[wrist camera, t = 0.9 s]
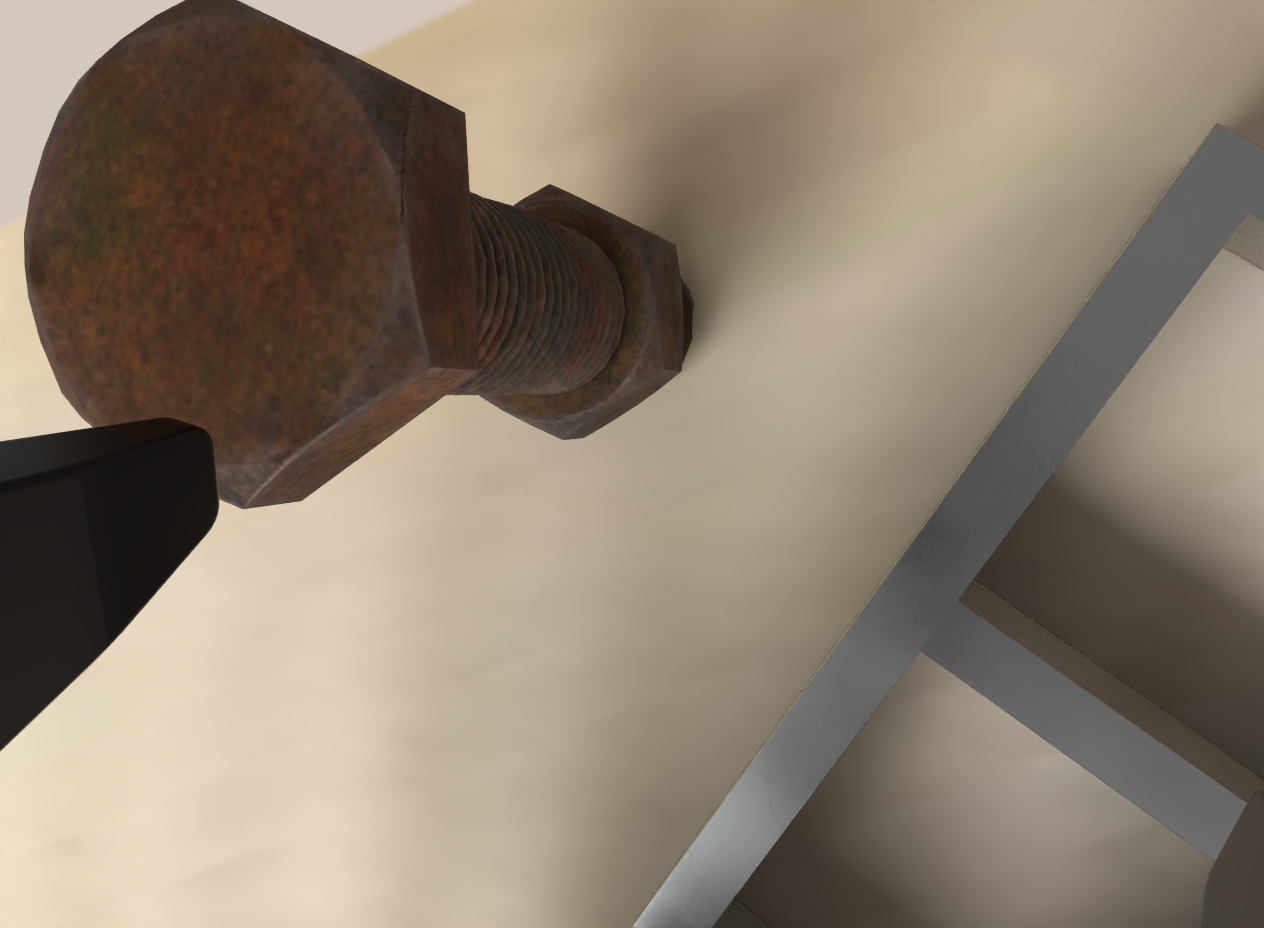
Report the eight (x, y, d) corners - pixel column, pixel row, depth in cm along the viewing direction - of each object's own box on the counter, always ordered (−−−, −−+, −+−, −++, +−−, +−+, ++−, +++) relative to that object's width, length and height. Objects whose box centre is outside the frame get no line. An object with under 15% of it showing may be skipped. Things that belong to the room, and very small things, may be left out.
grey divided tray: (1055, 1213, 24) (1063, 1344, 21) (660, 885, 27) (611, 955, 23) (1742, 474, 19) (1894, 490, 16) (1184, 164, 22) (1217, 123, 19)
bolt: (497, 368, 27) (-54, 338, 13) (581, 180, 26) (84, -75, 12) (696, 478, 26) (320, 579, 12) (794, 283, 25) (513, 133, 11)
